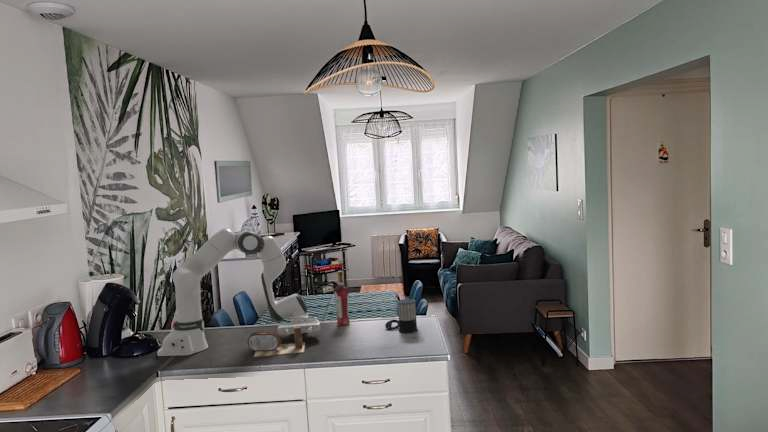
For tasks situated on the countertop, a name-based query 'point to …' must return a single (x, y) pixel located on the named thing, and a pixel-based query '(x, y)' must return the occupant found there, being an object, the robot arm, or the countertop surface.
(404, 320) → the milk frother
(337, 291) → the liquor
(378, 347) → the countertop surface
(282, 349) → the light wood stand
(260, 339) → the tin
